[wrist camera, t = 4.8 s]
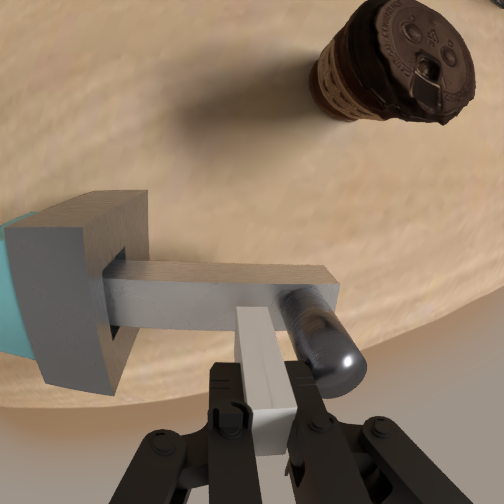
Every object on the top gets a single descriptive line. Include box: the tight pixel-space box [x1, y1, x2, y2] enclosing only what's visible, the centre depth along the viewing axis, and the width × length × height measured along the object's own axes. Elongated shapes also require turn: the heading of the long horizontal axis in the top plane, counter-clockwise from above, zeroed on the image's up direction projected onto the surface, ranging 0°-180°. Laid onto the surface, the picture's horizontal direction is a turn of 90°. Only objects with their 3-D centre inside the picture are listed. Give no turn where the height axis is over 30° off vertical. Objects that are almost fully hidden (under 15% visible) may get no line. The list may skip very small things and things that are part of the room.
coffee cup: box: [309, 0, 476, 126], centre depth 17 cm, size 9×8×13 cm
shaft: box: [102, 260, 367, 399], centre depth 14 cm, size 26×3×9 cm, turn 87°
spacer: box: [0, 212, 38, 360], centre depth 17 cm, size 4×8×8 cm, turn 177°
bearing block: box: [4, 190, 149, 396], centre depth 19 cm, size 5×10×13 cm, turn 177°
